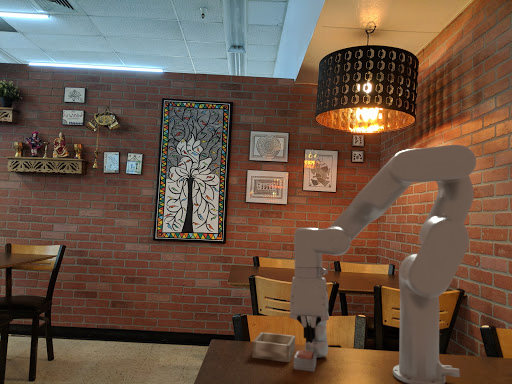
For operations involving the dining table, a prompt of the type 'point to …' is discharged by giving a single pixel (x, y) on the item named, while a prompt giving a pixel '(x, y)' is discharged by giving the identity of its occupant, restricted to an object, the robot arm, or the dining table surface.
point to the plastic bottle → (318, 339)
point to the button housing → (305, 363)
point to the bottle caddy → (274, 347)
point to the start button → (305, 354)
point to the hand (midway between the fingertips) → (309, 341)
